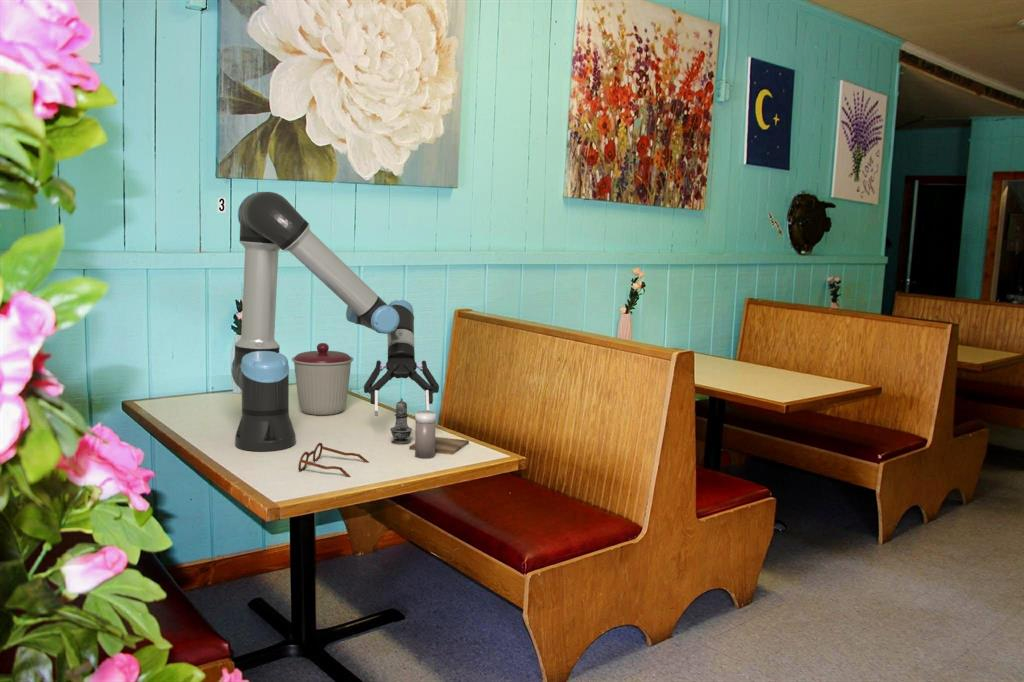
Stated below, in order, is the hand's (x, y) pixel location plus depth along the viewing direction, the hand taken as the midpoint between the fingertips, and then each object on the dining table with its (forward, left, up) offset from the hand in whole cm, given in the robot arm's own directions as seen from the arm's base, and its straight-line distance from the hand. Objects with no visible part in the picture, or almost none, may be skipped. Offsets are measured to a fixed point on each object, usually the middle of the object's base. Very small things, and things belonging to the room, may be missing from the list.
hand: (402, 413), depth 237 cm
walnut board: (-1, -11, -7) cm, 14 cm away
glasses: (-29, +4, -8) cm, 31 cm away
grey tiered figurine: (-1, 0, -8) cm, 8 cm away
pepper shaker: (-11, -11, -7) cm, 18 cm away
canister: (+22, +36, -8) cm, 42 cm away
